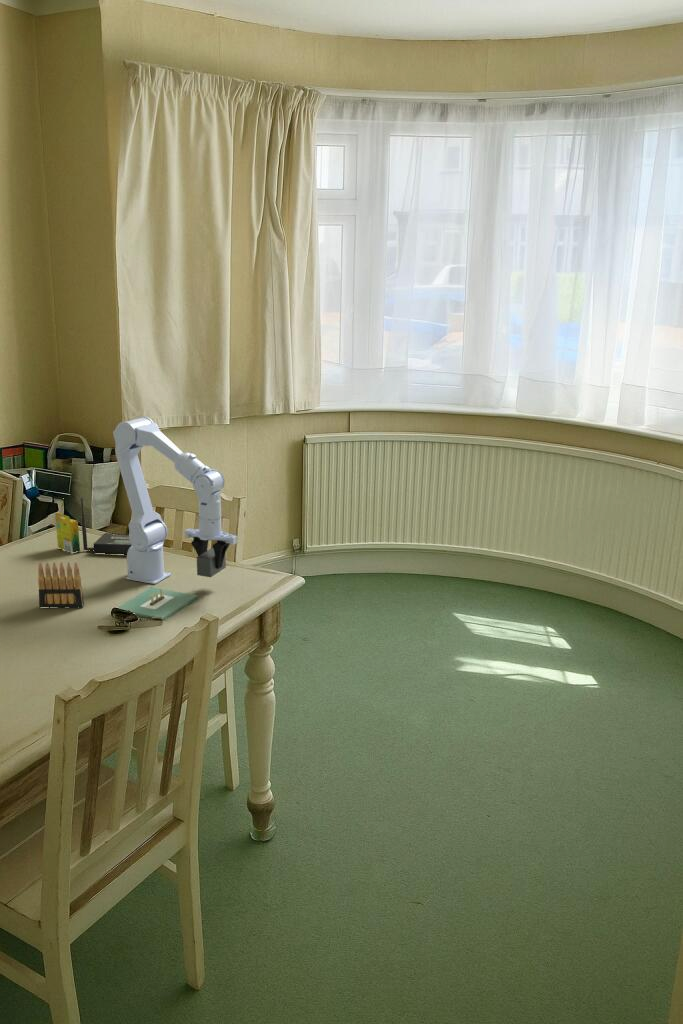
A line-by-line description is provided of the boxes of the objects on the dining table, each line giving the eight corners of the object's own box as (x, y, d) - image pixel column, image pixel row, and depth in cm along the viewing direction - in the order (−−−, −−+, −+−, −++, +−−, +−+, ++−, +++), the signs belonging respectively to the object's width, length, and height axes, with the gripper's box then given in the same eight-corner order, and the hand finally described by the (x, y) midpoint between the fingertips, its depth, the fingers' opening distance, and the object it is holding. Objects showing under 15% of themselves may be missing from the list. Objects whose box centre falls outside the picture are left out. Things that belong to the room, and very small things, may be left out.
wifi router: (158, 544, 263) (155, 491, 258) (145, 559, 250) (142, 503, 245) (94, 542, 264) (90, 489, 259) (78, 557, 251) (74, 501, 246)
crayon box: (80, 552, 254) (77, 514, 251) (72, 554, 252) (69, 517, 248) (66, 546, 258) (63, 510, 255) (57, 549, 256) (54, 512, 253)
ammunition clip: (39, 608, 214) (35, 563, 210) (41, 605, 215) (37, 561, 212) (82, 608, 214) (78, 563, 211) (84, 605, 216) (80, 560, 213)
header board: (115, 611, 213) (114, 599, 212) (151, 589, 227) (151, 578, 226) (163, 620, 208) (162, 608, 207) (197, 597, 222) (197, 586, 221)
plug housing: (197, 575, 222) (196, 557, 221) (212, 565, 230) (212, 547, 228) (210, 577, 221) (210, 559, 220) (225, 567, 228) (225, 549, 227)
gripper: (177, 517, 220) (179, 567, 224) (227, 524, 215) (228, 575, 219) (192, 510, 226) (193, 558, 230) (240, 517, 221) (241, 566, 225)
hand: (211, 566), depth 225 cm, fingers closed on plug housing, 4 cm apart
